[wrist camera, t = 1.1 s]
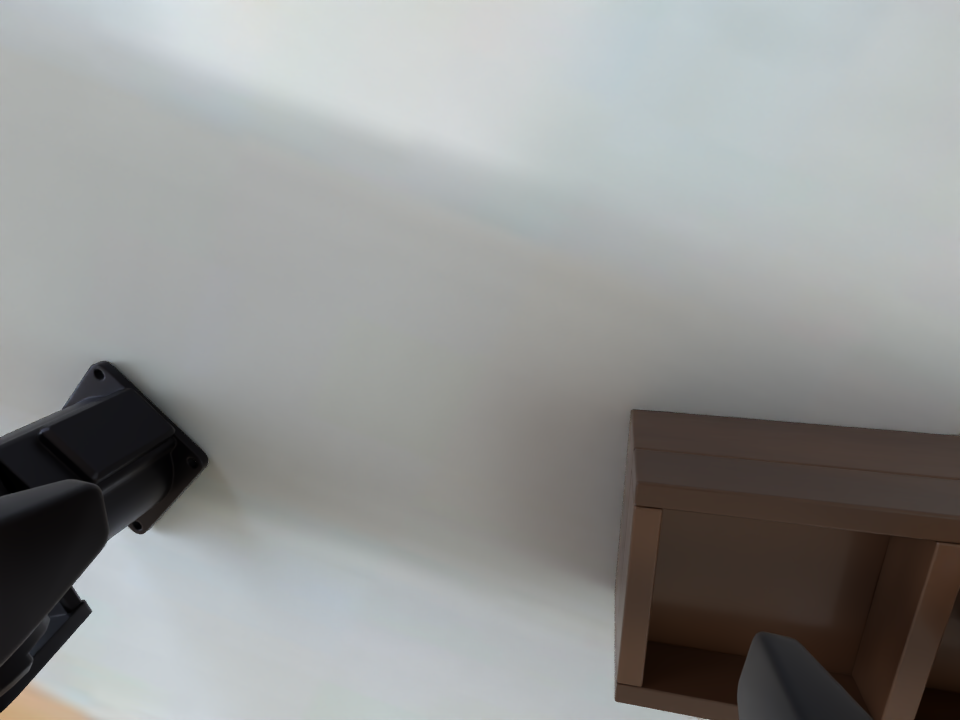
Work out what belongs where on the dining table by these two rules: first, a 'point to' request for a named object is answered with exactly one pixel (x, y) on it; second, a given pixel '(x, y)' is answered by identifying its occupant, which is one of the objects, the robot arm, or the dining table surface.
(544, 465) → the dining table surface
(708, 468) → the dark brown wooden tray
